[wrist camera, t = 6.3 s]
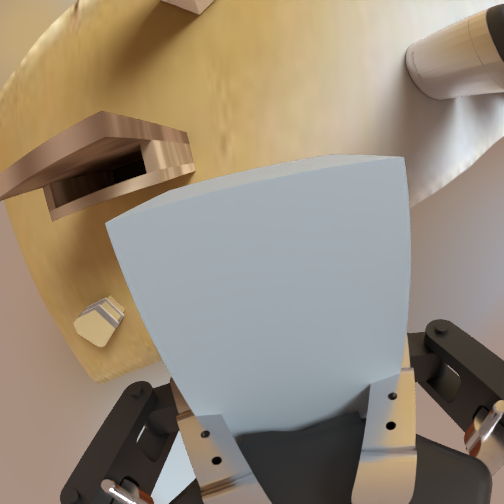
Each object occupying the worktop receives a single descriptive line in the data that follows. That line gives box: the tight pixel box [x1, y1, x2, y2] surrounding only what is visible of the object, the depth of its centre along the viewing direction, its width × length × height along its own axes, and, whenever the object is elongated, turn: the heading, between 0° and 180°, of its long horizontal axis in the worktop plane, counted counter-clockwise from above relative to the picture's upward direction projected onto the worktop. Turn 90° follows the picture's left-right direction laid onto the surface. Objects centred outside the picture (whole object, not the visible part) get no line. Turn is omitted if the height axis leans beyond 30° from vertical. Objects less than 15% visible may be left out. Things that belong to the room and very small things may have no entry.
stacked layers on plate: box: [73, 295, 125, 347], centre depth 36 cm, size 10×9×6 cm
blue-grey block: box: [105, 154, 411, 444], centre depth 11 cm, size 6×10×10 cm, turn 13°
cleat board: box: [0, 111, 195, 222], centre depth 22 cm, size 12×5×20 cm, turn 102°
